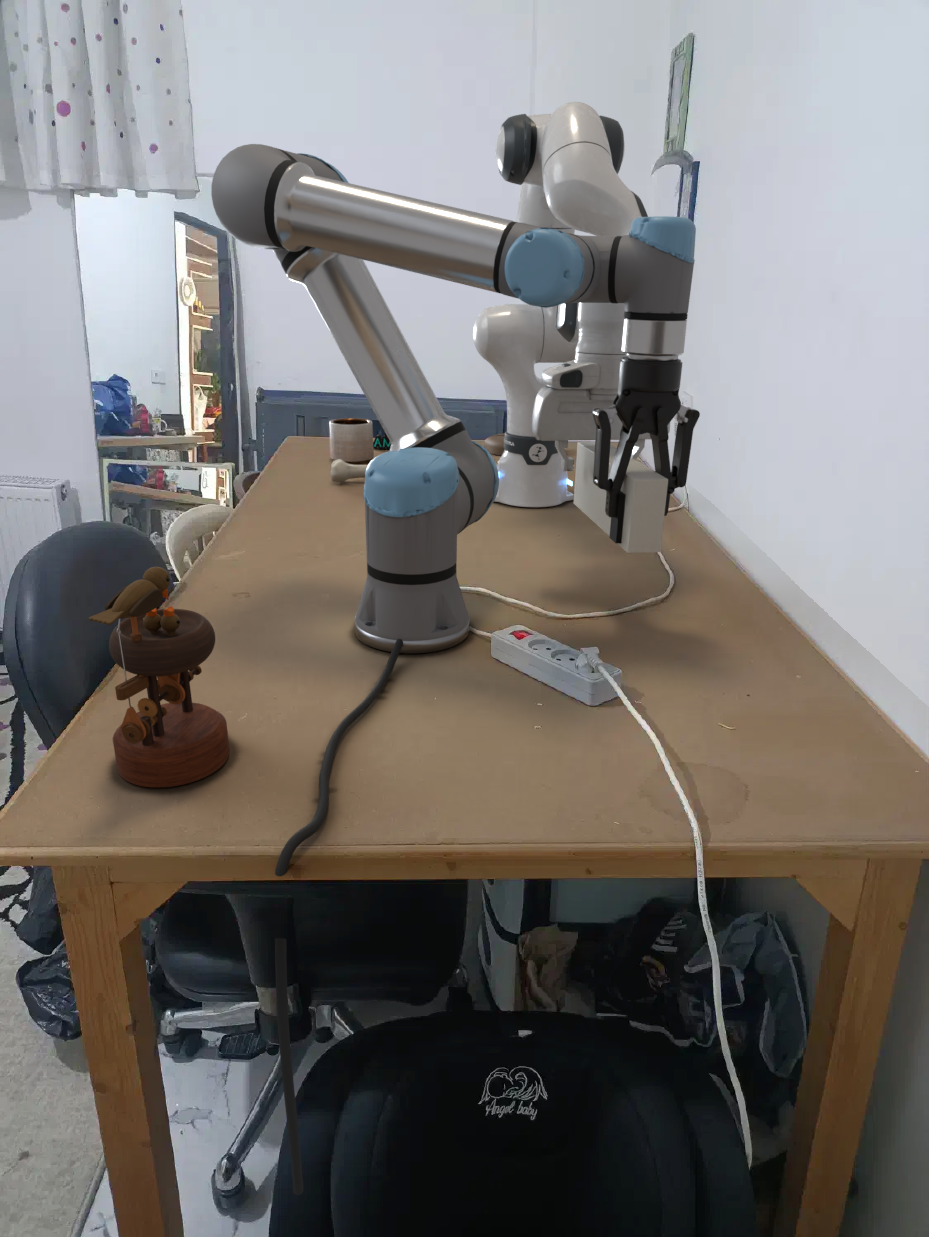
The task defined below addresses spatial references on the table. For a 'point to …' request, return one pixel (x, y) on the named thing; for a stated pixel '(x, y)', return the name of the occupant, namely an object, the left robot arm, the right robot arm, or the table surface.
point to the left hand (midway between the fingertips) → (633, 539)
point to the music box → (162, 687)
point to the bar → (640, 502)
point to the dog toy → (346, 471)
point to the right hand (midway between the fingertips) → (597, 470)
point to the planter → (351, 440)
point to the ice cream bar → (495, 444)
